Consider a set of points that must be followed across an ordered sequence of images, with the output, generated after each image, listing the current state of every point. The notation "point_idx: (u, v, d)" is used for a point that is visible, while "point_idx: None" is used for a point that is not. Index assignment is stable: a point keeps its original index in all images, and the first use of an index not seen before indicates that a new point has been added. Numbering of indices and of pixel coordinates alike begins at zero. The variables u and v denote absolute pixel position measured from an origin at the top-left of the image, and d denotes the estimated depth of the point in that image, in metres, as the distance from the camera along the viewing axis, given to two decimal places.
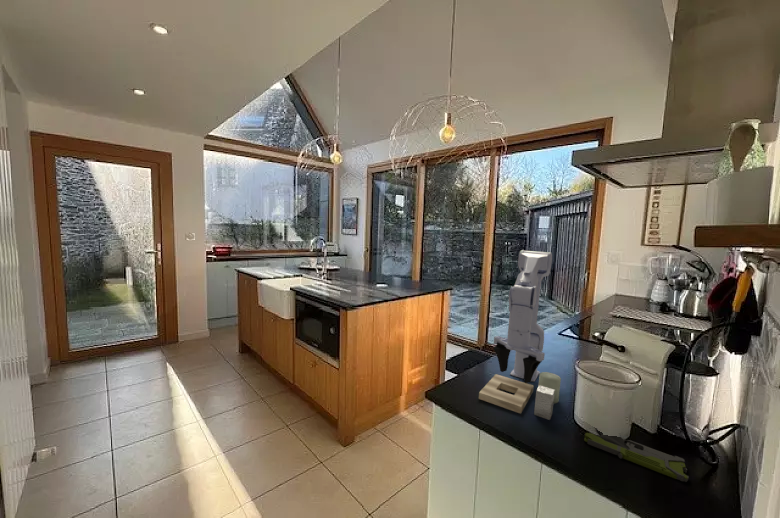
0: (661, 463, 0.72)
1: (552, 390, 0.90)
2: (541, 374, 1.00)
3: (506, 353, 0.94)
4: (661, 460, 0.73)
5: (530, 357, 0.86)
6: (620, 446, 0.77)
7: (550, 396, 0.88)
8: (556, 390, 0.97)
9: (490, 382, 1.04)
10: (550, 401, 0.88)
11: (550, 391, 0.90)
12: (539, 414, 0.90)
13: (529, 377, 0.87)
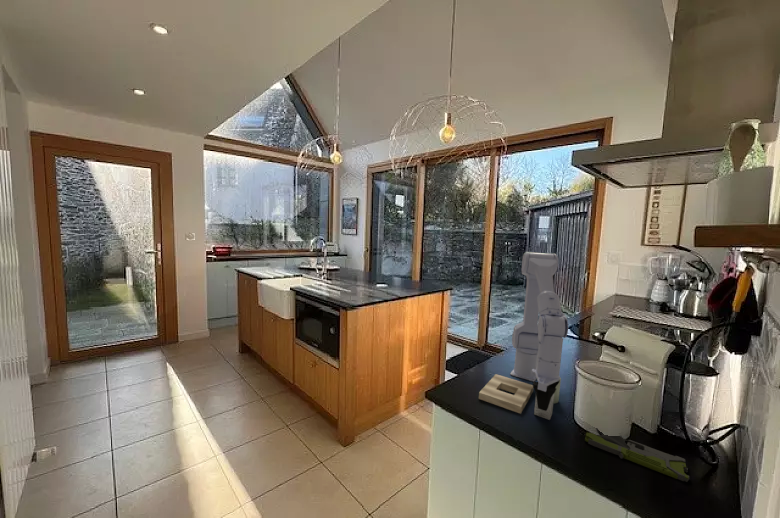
0: (662, 463, 0.72)
1: None
2: None
3: (549, 385, 0.92)
4: (662, 460, 0.73)
5: None
6: (621, 446, 0.77)
7: None
8: (556, 390, 0.97)
9: (490, 382, 1.04)
10: (550, 401, 0.88)
11: None
12: (539, 414, 0.90)
13: (542, 404, 0.88)
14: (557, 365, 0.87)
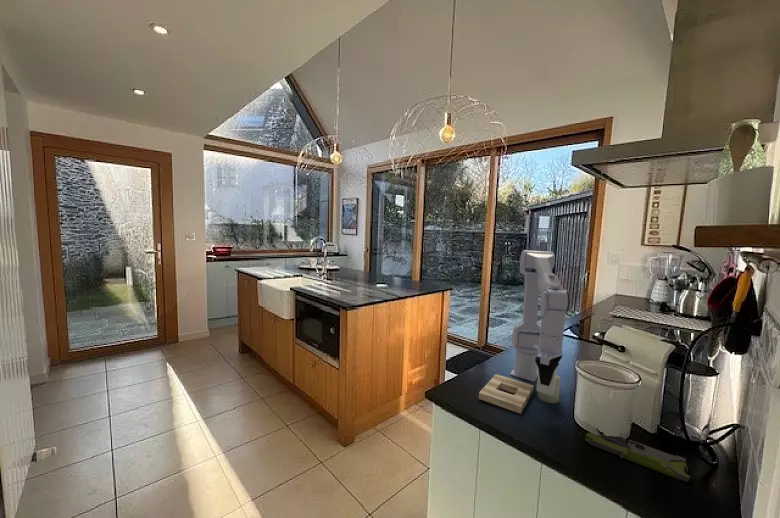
0: (662, 463, 0.72)
1: None
2: None
3: (551, 361, 0.91)
4: (662, 460, 0.73)
5: None
6: (621, 446, 0.77)
7: None
8: (556, 390, 0.97)
9: (490, 382, 1.04)
10: (553, 376, 0.87)
11: None
12: (541, 390, 0.89)
13: (545, 379, 0.88)
14: (560, 339, 0.86)
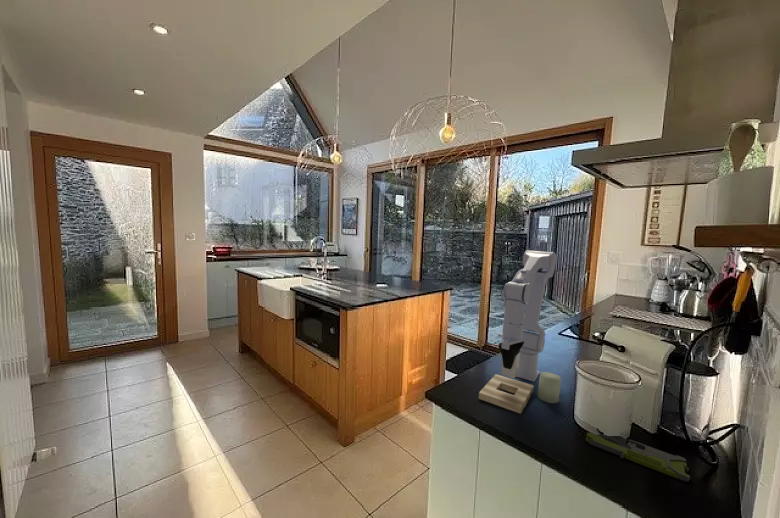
0: (662, 462, 0.72)
1: (517, 352, 0.99)
2: (541, 374, 1.00)
3: (514, 347, 1.00)
4: (663, 460, 0.73)
5: None
6: (622, 446, 0.77)
7: (515, 356, 0.96)
8: (557, 390, 0.97)
9: (490, 382, 1.04)
10: (515, 361, 0.96)
11: None
12: (505, 373, 0.98)
13: (507, 363, 0.97)
14: (520, 327, 0.96)
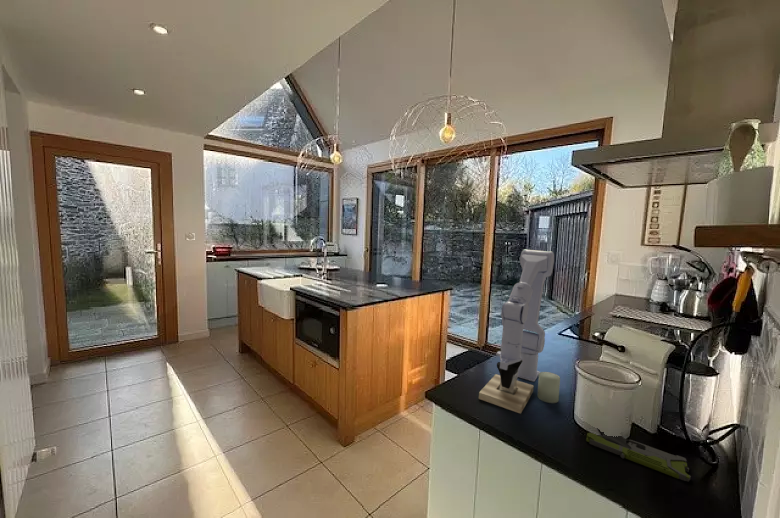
0: (663, 462, 0.72)
1: (515, 371, 0.99)
2: (540, 374, 1.00)
3: (513, 366, 1.01)
4: (663, 460, 0.73)
5: None
6: (622, 446, 0.77)
7: (513, 376, 0.97)
8: (556, 390, 0.97)
9: (490, 382, 1.04)
10: (513, 380, 0.97)
11: None
12: None
13: (505, 382, 0.98)
14: (518, 347, 0.96)
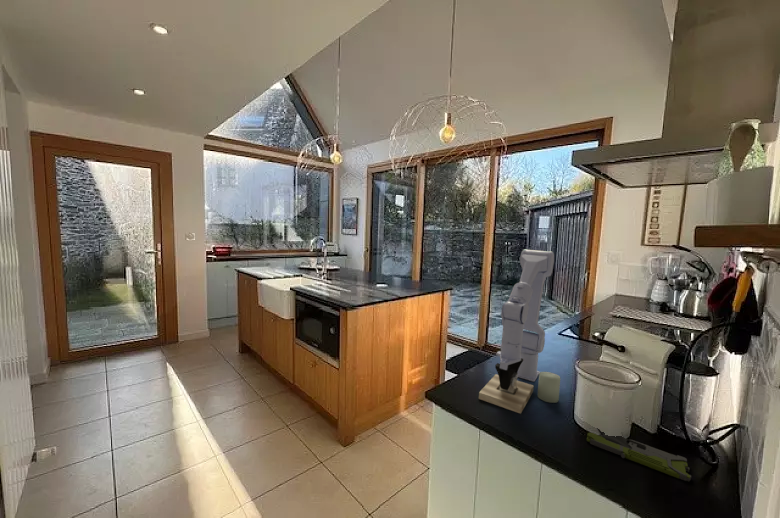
0: (663, 462, 0.72)
1: (515, 374, 0.99)
2: (541, 374, 1.00)
3: (514, 365, 1.02)
4: (663, 459, 0.73)
5: None
6: (622, 446, 0.77)
7: (512, 378, 0.97)
8: (557, 389, 0.97)
9: (490, 382, 1.04)
10: (513, 383, 0.97)
11: (513, 374, 0.99)
12: None
13: (504, 384, 0.97)
14: (518, 347, 0.96)
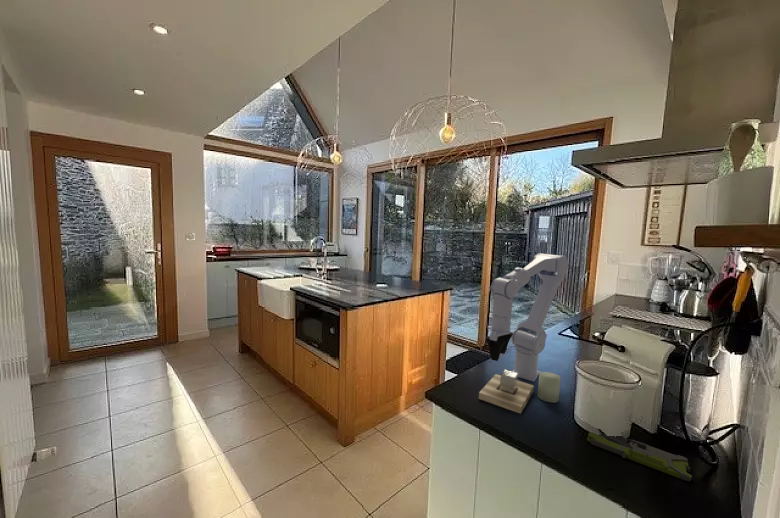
0: (664, 462, 0.72)
1: (515, 374, 0.99)
2: (541, 374, 1.00)
3: (504, 338, 1.09)
4: (664, 459, 0.73)
5: None
6: (623, 446, 0.77)
7: (512, 378, 0.97)
8: (558, 389, 0.97)
9: (490, 382, 1.04)
10: (513, 383, 0.97)
11: (513, 374, 0.99)
12: None
13: (494, 355, 1.03)
14: (507, 320, 1.02)
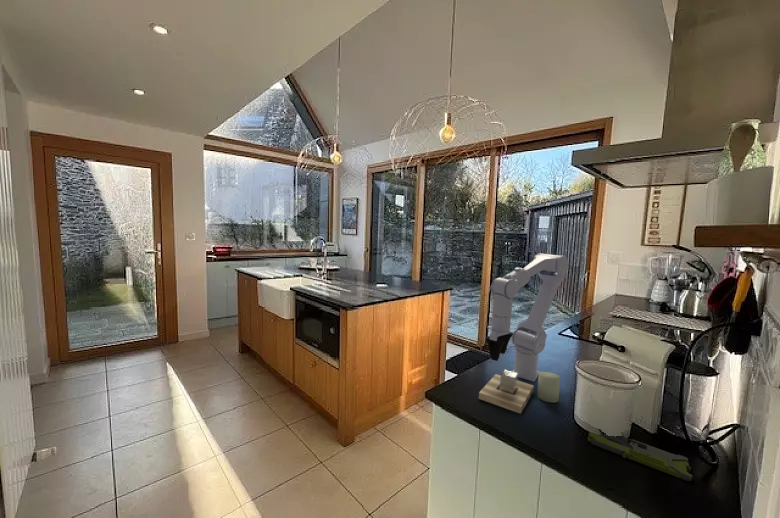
0: (665, 462, 0.72)
1: (515, 374, 0.99)
2: (540, 374, 1.00)
3: (504, 338, 1.09)
4: (665, 459, 0.73)
5: None
6: (624, 445, 0.77)
7: (513, 378, 0.97)
8: (558, 388, 0.97)
9: (490, 382, 1.04)
10: (513, 383, 0.97)
11: (513, 374, 0.99)
12: None
13: (494, 355, 1.03)
14: (507, 320, 1.03)
